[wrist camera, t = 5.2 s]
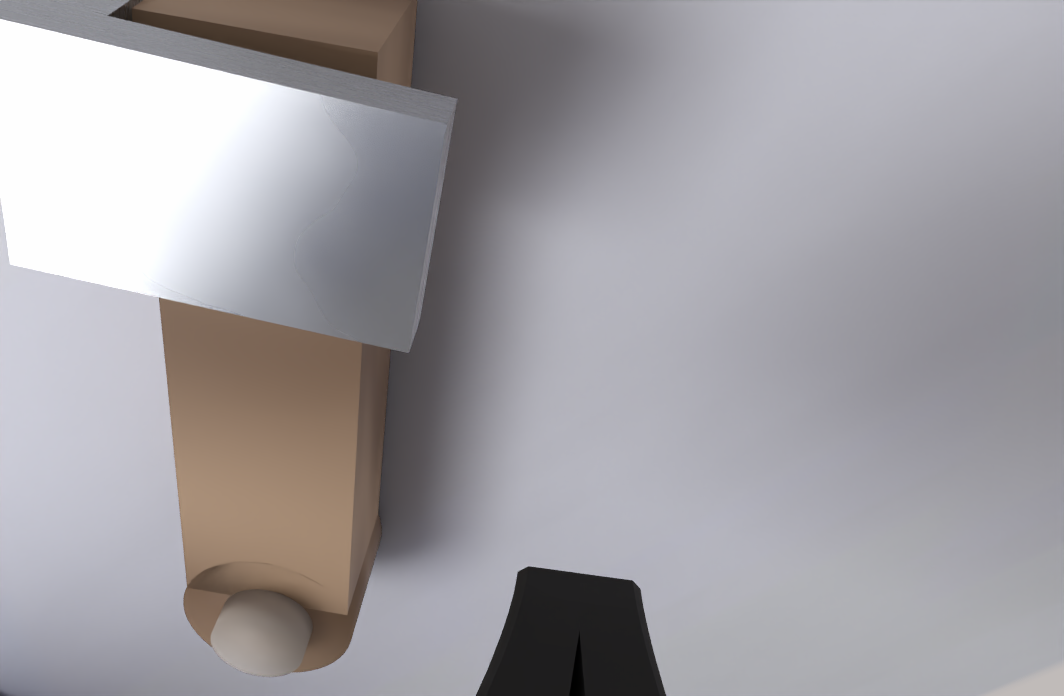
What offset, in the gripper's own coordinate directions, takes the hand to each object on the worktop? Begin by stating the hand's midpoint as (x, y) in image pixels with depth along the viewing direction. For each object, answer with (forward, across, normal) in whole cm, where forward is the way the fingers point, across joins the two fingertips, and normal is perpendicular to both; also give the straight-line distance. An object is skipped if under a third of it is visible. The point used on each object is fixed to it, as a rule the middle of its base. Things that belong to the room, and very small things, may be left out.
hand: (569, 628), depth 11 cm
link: (+6, +5, 0) cm, 7 cm away
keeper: (+6, +5, -4) cm, 8 cm away
